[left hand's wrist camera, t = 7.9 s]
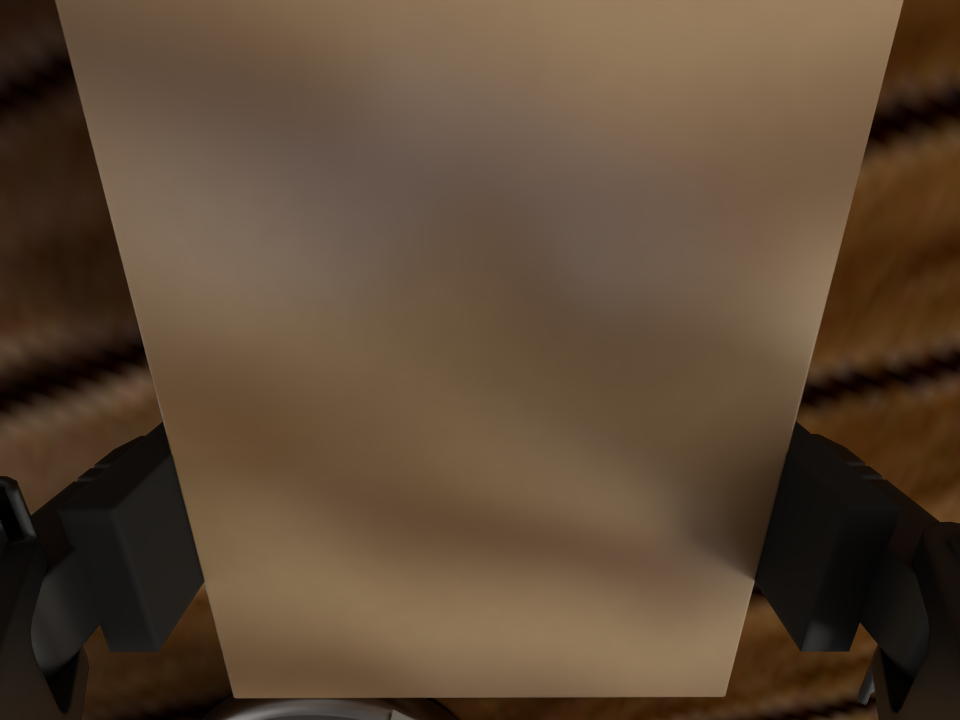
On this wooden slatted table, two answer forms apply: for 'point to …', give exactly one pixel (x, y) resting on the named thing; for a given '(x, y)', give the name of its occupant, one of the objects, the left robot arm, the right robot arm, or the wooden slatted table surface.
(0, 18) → the wooden slatted table surface
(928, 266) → the wooden slatted table surface
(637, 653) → the cabinet
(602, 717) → the wooden slatted table surface
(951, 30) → the wooden slatted table surface
